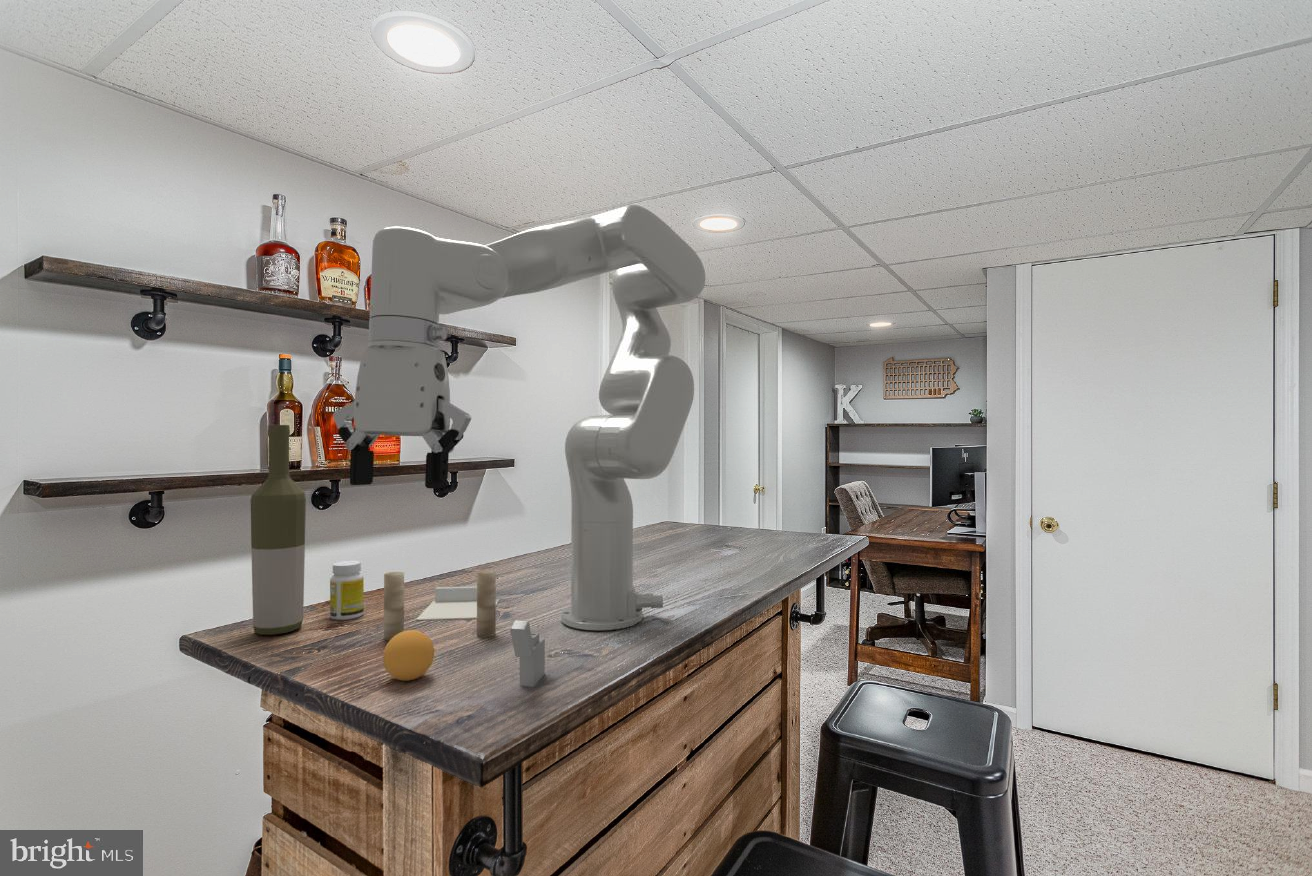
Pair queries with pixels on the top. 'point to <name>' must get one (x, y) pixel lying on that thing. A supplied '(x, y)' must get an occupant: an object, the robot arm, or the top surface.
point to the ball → (408, 655)
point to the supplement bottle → (346, 591)
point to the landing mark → (450, 610)
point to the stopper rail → (456, 594)
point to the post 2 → (486, 603)
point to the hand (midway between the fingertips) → (397, 486)
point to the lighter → (528, 653)
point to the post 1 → (393, 604)
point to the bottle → (278, 543)
